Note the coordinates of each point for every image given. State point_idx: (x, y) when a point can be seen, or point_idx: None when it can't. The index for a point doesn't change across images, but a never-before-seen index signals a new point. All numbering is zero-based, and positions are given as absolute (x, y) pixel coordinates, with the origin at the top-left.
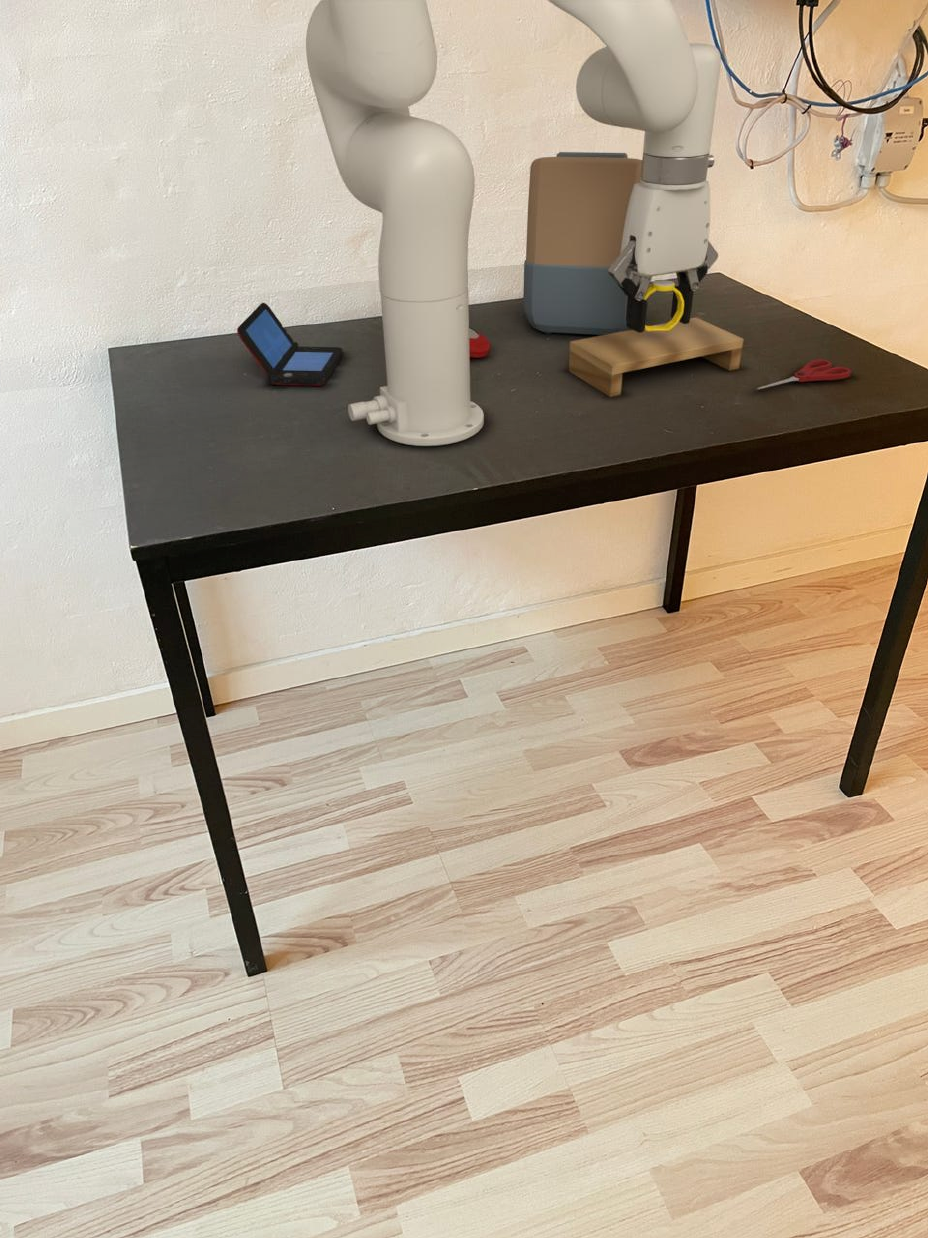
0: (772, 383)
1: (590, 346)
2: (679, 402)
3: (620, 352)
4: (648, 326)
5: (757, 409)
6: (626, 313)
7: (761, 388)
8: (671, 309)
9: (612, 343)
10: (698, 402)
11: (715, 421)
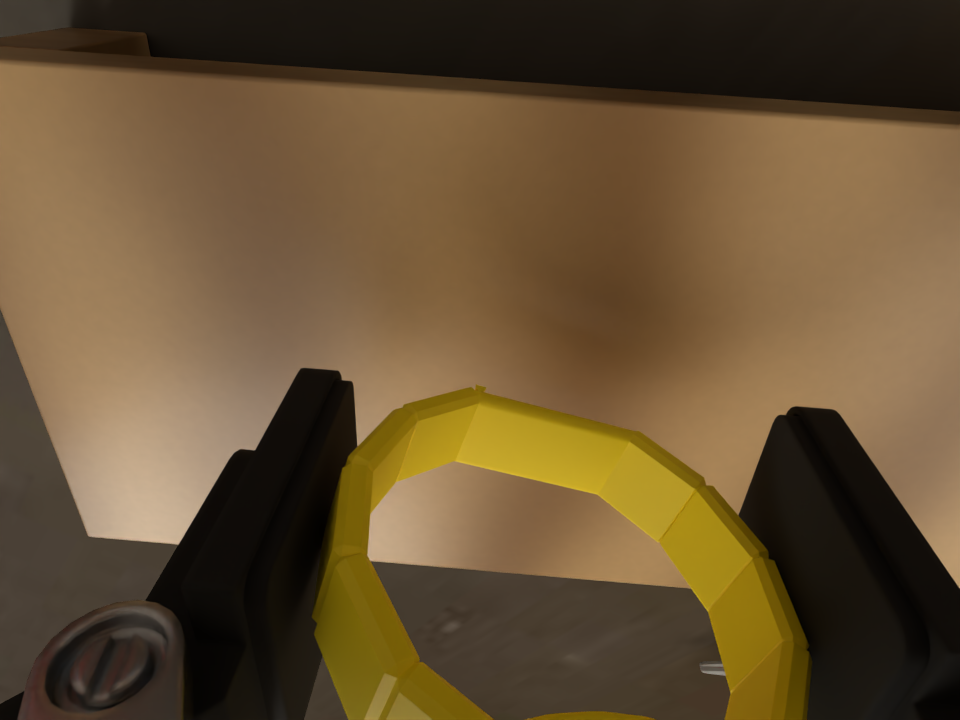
0: None
1: (48, 248)
2: (405, 575)
3: (210, 431)
4: (488, 424)
5: (591, 702)
6: (212, 490)
7: (713, 672)
8: (805, 452)
9: (231, 284)
10: (467, 602)
11: None
